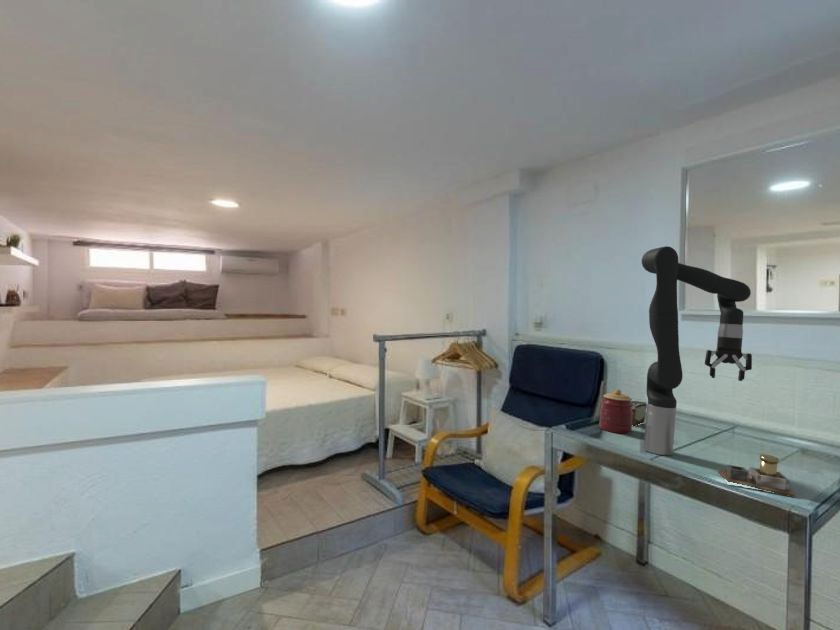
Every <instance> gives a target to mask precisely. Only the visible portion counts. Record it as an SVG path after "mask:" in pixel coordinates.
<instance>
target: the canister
mask: <svg viewBox="0 0 840 630" xmlns="http://www.w3.org/2000/svg"><path fill="white" fill-rule="evenodd" d="M631 401H633V399H632V397H630V396H629V395H627V394H624V393H622V390H620V389H618V388H616V389H615V390H614V392H607V393H605V394H603V398H602V399H601V400H600V402H601V407H599V408H600V411H599V412H600V413H599V415H600V416H599V423H598V426H599V428H600V429H602V430H603V431H607V432H611V433H615V434H624V435H625V434H630V433H632V429H633V426H632V414H633V412H632V407H633V406H634V405H633V404H632V403H631Z"/></svg>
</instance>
